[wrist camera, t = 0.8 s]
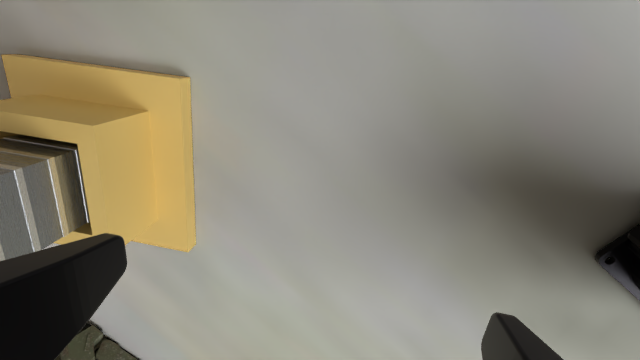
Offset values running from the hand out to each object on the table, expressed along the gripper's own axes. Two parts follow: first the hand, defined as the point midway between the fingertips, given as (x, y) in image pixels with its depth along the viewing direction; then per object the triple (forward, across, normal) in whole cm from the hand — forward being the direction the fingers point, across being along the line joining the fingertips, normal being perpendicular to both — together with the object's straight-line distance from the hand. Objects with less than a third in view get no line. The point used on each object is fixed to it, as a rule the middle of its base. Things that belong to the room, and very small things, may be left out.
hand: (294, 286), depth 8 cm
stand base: (+12, +15, +3) cm, 19 cm away
